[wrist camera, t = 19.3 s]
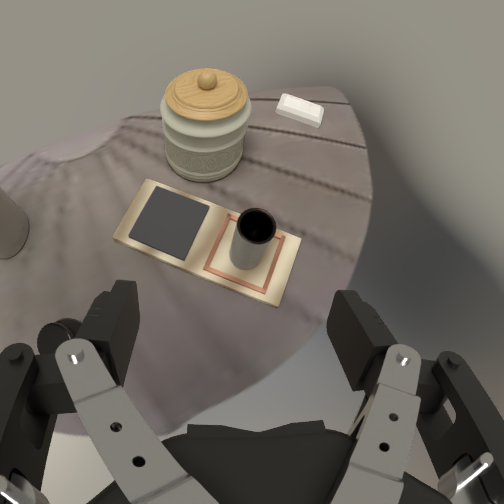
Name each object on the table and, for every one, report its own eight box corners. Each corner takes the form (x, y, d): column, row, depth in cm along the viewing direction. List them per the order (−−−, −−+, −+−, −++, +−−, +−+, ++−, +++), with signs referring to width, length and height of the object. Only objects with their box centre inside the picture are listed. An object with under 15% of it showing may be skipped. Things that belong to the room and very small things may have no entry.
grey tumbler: (247, 276, 43) (260, 252, 34) (222, 256, 44) (228, 227, 34) (267, 253, 45) (284, 224, 35) (242, 234, 45) (253, 200, 36)
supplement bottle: (99, 317, 39) (64, 301, 28) (122, 358, 38) (93, 358, 27) (63, 339, 37) (21, 330, 26) (86, 381, 36) (47, 386, 24)
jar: (232, 121, 54) (244, 45, 37) (249, 177, 50) (270, 100, 34) (162, 131, 51) (154, 53, 34) (170, 190, 47) (160, 112, 31)
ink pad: (129, 237, 42) (128, 235, 42) (156, 188, 46) (156, 185, 45) (184, 261, 42) (183, 259, 42) (209, 208, 46) (209, 205, 45)
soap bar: (317, 129, 57) (322, 120, 54) (274, 114, 57) (277, 105, 54) (321, 114, 59) (325, 106, 56) (280, 100, 58) (283, 91, 56)
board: (114, 240, 43) (111, 235, 41) (147, 182, 47) (145, 176, 45) (276, 308, 43) (279, 305, 42) (299, 241, 47) (302, 237, 46)
